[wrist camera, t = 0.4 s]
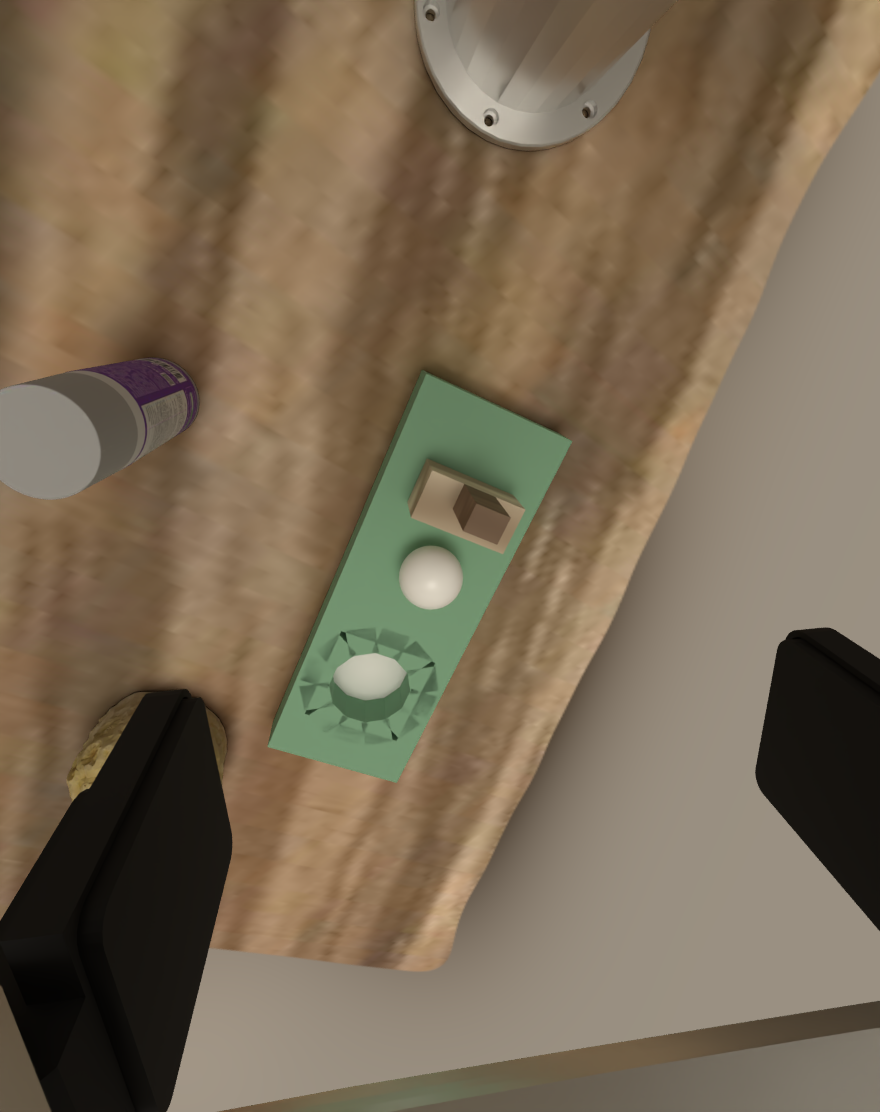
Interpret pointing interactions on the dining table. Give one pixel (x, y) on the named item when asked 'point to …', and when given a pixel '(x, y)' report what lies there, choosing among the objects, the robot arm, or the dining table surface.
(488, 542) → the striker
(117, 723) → the rock
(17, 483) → the container
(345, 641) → the putting green
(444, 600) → the golf ball
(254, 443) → the dining table surface
